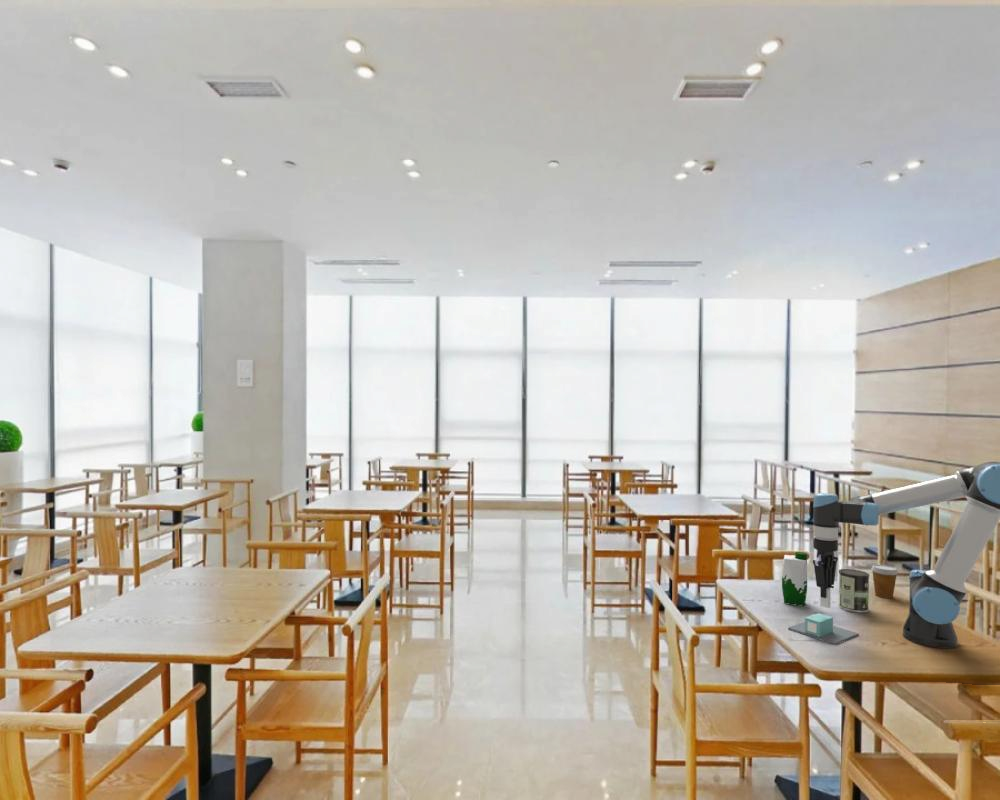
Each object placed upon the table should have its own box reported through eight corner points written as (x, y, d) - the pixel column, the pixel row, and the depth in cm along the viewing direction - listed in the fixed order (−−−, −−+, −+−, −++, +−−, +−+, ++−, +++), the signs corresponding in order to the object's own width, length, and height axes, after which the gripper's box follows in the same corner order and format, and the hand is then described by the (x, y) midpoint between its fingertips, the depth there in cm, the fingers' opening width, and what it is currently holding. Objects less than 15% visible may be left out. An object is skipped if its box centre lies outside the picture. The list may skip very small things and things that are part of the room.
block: (833, 617, 206) (819, 622, 201) (832, 631, 206) (819, 637, 200) (818, 613, 210) (804, 617, 205) (818, 627, 210) (804, 632, 205)
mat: (858, 635, 205) (858, 633, 205) (835, 644, 196) (835, 642, 196) (812, 620, 218) (812, 619, 218) (788, 629, 209) (788, 627, 209)
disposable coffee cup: (903, 599, 248) (903, 569, 248) (883, 599, 246) (884, 570, 246) (883, 591, 257) (884, 564, 257) (865, 592, 255) (865, 564, 255)
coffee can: (868, 607, 236) (869, 571, 236) (868, 614, 227) (869, 577, 227) (838, 602, 241) (839, 567, 241) (837, 609, 232) (838, 572, 232)
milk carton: (807, 607, 233) (808, 556, 233) (781, 603, 237) (782, 553, 237) (806, 601, 241) (807, 551, 241) (781, 597, 245) (782, 548, 245)
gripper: (823, 534, 214) (823, 600, 214) (804, 538, 207) (804, 606, 206) (845, 538, 208) (845, 606, 208) (827, 542, 201) (827, 613, 200)
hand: (825, 606), depth 207 cm, fingers closed
